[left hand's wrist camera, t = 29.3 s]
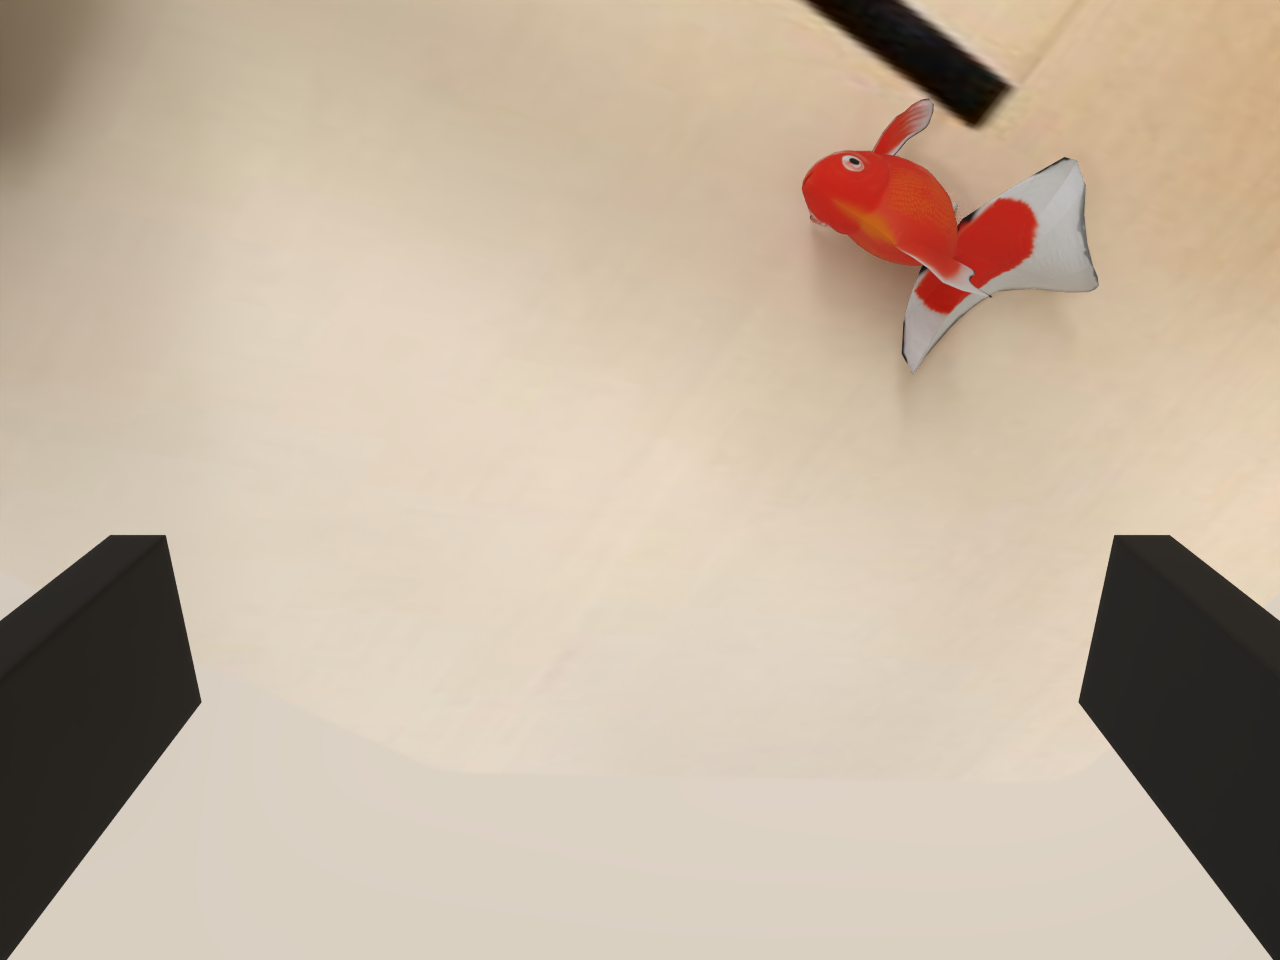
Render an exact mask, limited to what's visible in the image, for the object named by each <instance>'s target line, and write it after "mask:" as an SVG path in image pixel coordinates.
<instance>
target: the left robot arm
mask: <svg viewBox="0 0 1280 960" xmlns="http://www.w3.org/2000/svg"><path fill="white" fill-rule="evenodd" d="M200 704H201V698H200V693H199V688H198V684H197V679H196V674H195V670H194V665H193V660H192V656H191V651H190V646H189V642H188V637H187V632H186V628H185V623H184V618H183V614H182V609H181V604H180V600H179V595H178V590H177V586H176V581H175V576H174V572H173V567H172V562H171V558H170V553H169V548H168V544H167V539H166V535H110V536H109V537H107V538H106V539H105V540H103V541H102V542H101V543H100V544H98V545H97V546H96V547H95V548H93V549H92V550H91V551H89V552H88V553H87V554H86V555H84V556H83V557H82V558H80V559H79V560H78V561H77V562H75V563H74V564H73V565H71V566H70V567H69V568H68V569H66V570H65V571H64V572H62V573H61V574H60V575H59V576H57V577H56V578H55V579H53V580H52V581H51V582H50V583H48V584H47V585H46V586H44V587H43V588H42V589H41V590H39V591H38V592H37V593H36V594H34V595H33V596H32V597H30V598H29V599H28V600H27V601H25V602H24V603H23V604H21V605H20V606H19V607H18V608H16V609H15V610H14V611H12V612H11V613H10V614H9V615H7V616H6V617H5V618H3V619H2V620H1V621H0V960H7V959H8V957H9V956H10V955H11V953H12V952H13V951H14V950H15V948H16V947H17V946H18V944H19V943H20V942H21V940H22V939H23V938H24V936H25V935H26V934H27V932H28V931H29V930H30V928H31V927H32V926H33V924H34V923H35V922H36V920H37V919H38V918H39V916H40V915H41V914H42V913H43V911H44V910H45V909H46V907H47V906H48V905H49V903H50V902H51V901H52V899H53V898H54V897H55V895H56V894H57V893H58V891H59V890H60V889H61V887H62V886H63V885H64V883H65V882H66V881H67V879H68V878H69V877H70V875H71V874H72V873H73V872H74V870H75V869H76V868H77V866H78V865H79V864H80V862H81V861H82V860H83V858H84V857H85V856H86V854H87V853H88V852H89V850H90V849H91V848H92V846H93V845H94V844H95V842H96V841H97V840H98V838H99V837H100V836H101V834H102V833H103V832H104V831H105V829H106V828H107V827H108V825H109V824H110V823H111V821H112V820H113V819H114V817H115V816H116V815H117V813H118V812H119V811H120V809H121V808H122V807H123V805H124V804H125V803H126V801H127V800H128V799H129V797H130V796H131V795H132V793H133V792H134V791H135V789H136V788H137V787H138V785H139V784H140V783H141V782H142V780H143V779H144V778H145V776H146V775H147V774H148V772H149V771H150V770H151V768H152V767H153V766H154V764H155V763H156V762H157V760H158V759H159V758H160V756H161V755H162V754H163V752H164V751H165V750H166V748H167V747H168V746H169V745H170V743H171V742H172V740H173V739H174V738H175V736H176V735H177V734H178V733H179V731H180V730H181V729H182V727H183V726H184V725H185V723H186V722H187V721H188V719H189V718H190V717H191V715H192V714H193V713H194V711H195V710H196V709H197V707H198V706H199V705H200ZM1079 704H1080V705H1081V706H1082V707H1083V709H1084V710H1085V711H1086V713H1087V714H1088V715H1089V717H1090V718H1091V719H1092V721H1093V722H1094V723H1095V725H1096V726H1097V727H1098V729H1099V730H1100V731H1101V733H1102V734H1103V735H1104V737H1105V738H1106V739H1107V741H1108V742H1109V743H1110V745H1111V746H1112V747H1113V749H1114V750H1115V751H1116V752H1117V754H1118V755H1119V756H1120V758H1121V759H1122V760H1123V762H1124V763H1125V764H1126V766H1127V767H1128V768H1129V770H1130V771H1131V772H1132V774H1133V775H1134V776H1135V778H1136V779H1137V780H1138V782H1139V783H1140V784H1141V786H1142V787H1143V788H1144V790H1145V791H1146V792H1147V793H1148V795H1149V796H1150V797H1151V799H1152V800H1153V801H1154V803H1155V804H1156V805H1157V807H1158V808H1159V809H1160V811H1161V812H1162V813H1163V815H1164V816H1165V817H1166V819H1167V820H1168V821H1169V823H1170V824H1171V825H1172V827H1173V828H1174V829H1175V830H1176V832H1177V833H1178V834H1179V836H1180V837H1181V838H1182V840H1183V841H1184V842H1185V844H1186V845H1187V846H1188V848H1189V849H1190V850H1191V852H1192V853H1193V854H1194V856H1195V857H1196V858H1197V860H1198V861H1199V862H1200V864H1201V865H1202V866H1203V868H1204V869H1205V870H1206V871H1207V873H1208V874H1209V875H1210V877H1211V878H1212V879H1213V881H1214V882H1215V883H1216V885H1217V886H1218V887H1219V889H1220V890H1221V891H1222V893H1223V894H1224V895H1225V897H1226V898H1227V899H1228V901H1229V902H1230V903H1231V905H1232V906H1233V907H1234V909H1235V910H1236V911H1237V913H1238V914H1239V915H1240V916H1241V918H1242V919H1243V920H1244V922H1245V923H1246V924H1247V926H1248V927H1249V928H1250V930H1251V931H1252V932H1253V934H1254V935H1255V936H1256V938H1257V939H1258V940H1259V942H1260V943H1261V944H1262V946H1263V947H1264V948H1265V950H1266V951H1267V952H1268V953H1269V955H1270V956H1271V957H1272V959H1273V960H1280V621H1279V620H1278V619H1276V618H1275V617H1274V616H1273V615H1271V614H1270V613H1269V612H1267V611H1266V610H1265V609H1264V608H1262V607H1261V606H1260V605H1259V604H1257V603H1256V602H1255V601H1253V600H1252V599H1251V598H1250V597H1248V596H1247V595H1246V594H1244V593H1243V592H1242V591H1241V590H1239V589H1238V588H1237V587H1236V586H1234V585H1233V584H1232V583H1230V582H1229V581H1228V580H1227V579H1225V578H1224V577H1223V576H1221V575H1220V574H1219V573H1218V572H1216V571H1215V570H1214V569H1212V568H1211V567H1210V566H1209V565H1207V564H1206V563H1205V562H1203V561H1202V560H1201V559H1200V558H1198V557H1197V556H1196V555H1194V554H1193V553H1192V552H1191V551H1189V550H1188V549H1187V548H1185V547H1184V546H1183V545H1182V544H1180V543H1179V542H1178V541H1177V540H1175V539H1174V538H1173V537H1171V536H1170V535H1114V539H1113V544H1112V548H1111V553H1110V558H1109V562H1108V567H1107V572H1106V576H1105V581H1104V586H1103V590H1102V595H1101V600H1100V604H1099V609H1098V614H1097V618H1096V623H1095V628H1094V632H1093V637H1092V642H1091V646H1090V651H1089V656H1088V660H1087V665H1086V670H1085V674H1084V679H1083V684H1082V688H1081V693H1080V698H1079Z"/></svg>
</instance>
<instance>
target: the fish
mask: <svg viewBox="0 0 1280 960" xmlns="http://www.w3.org/2000/svg"><path fill="white" fill-rule="evenodd" d="M933 107H934V104H933V103H932V102H931V100H930V99H923V100H920V101H918V102H916V103H915V104H913V105H911V106H910V107H909V108H908V109H907V110H906V111H905V112H903V113H902V114H900V115H898V116H897V117H895V119H894V120H893V121H892V122H891V123H890V124H889V126H888V127H887V128H886V129H885V130H884V132H883V133H882V135H881V137H880V138H879V140H878V142H877V144H876V145H875V147H874V149H873V151H872V152H871V151H840V152H835V153H833V154H831V155H829V156H826V157H824V158H822V159H820V160H819V161H818V162H817V163H816V164H815V165H814V166H813V167H812V168H811V169H810V170H809V171H808V172H807V174H806V176H805V178H804V180H803V185H802V191H803V195H804V197H805V201H806V203H807V206H808V209H809V212H810V214H811V216H810V219H811V221H812V222H814V223H817V224H820V225H822V226H828V227H832V228H833V229H834V230H835V231H837V232H839V233H841V234H847V235H848V236H850V237H851V238H852V239H853V240H854V241H855V242H856V243H857V244H858V245H859V246H860V247H862V248H863V249H865V250H866V251H868V252H870V253H871V254H873V255H875V256H877V257H879V258H882V259H884V260H887V261H890V262H894V263H899V264H904V265H911V266H912V265H922V268H921V270H920V272H919V275H918V277H917V280H916V282H915V285H914V287H913V290H912V292H911V295H910V299H909V302H908V305H907V309H906V314H905V318H904V324H903V342H902V355H903V357H904V359H905V360H906V362H907V364H908V366H909V368H910V370H911V371H912V373H913V375H914V373H915V372H916V370H917V369H918V367H919V365H920V364H921V362H922V361H923V359H924V358H925V356H926V355H927V354H928V353H929V352H930V351H931V349H932V348H933V347H934V346H935V345H936V344H937V342H938V341H939V340H940V339H941V338H942V337H943V335H944V334H945V333H946V332H947V331H948V330H949V328H950V327H951V326H952V325H953V324H955V323H956V322H957V321H958V320H959V319H960V318H961V317H962V316H963V315H964V314H965V313H966V312H967V311H968V310H969V309H971V308H972V307H973V306H975V305H976V304H978V303H979V302H981V301H982V300H983V299H985V298H986V297H992V296H991V294H993V293H995V292H996V291H1005V290H1015V289H1031V288H1035V289H1043V290H1050V291H1060V292H1090V291H1092V290H1095V289H1096V288H1097V287H1098V286H1099V284H1098V277H1097V274H1096V272H1095V270H1094V267H1093V264H1092V260H1091V256H1090V252H1089V249H1088V245H1087V237H1086V228H1085V219H1084V207H1085V187H1086V185H1085V182H1084V180H1083V177H1082V174H1081V171H1080V168H1079V165H1078V162H1077V160H1073V159H1069V158H1065V157H1064V158H1062V159H1060V160H1059V161H1057V162H1055V163H1053V164H1052V165H1050V166H1048V167H1046V168H1045V169H1043V170H1041V171H1040V172H1038V173H1036V174H1034V175H1032V176H1031V177H1029V178H1027V179H1025V180H1023V181H1022V182H1020V183H1018V184H1016V185H1015V186H1013V187H1011V188H1010V189H1008V190H1007V191H1005V192H1003V193H1002V194H1000V195H999V196H997V197H996V198H994V199H992V200H991V201H989V202H988V203H986V204H985V205H983V206H982V207H980V208H979V209H977V210H976V211H974V212H973V213H971V214H970V215H968V216H966V217H965V218H963V219H962V221H961V222H960V223H959V224H958V226H957V222H956V218H955V214H954V212H955V210H956V208H957V207H958V205H957V204H956V203H953V204H952V202H951V200H950V198H949V196H948V194H947V192H946V191H945V190H944V188H943V187H942V186H941V185H940V183H939V182H938V181H937V180H936V178H935V177H934V176H933V175H932V174H931V173H930V172H929V171H928V170H926V169H925V168H923V167H922V166H920V165H918V164H915V163H913V162H911V161H908V160H906V159H903V158H901V157H898V156H894V155H895V154H896V153H897V152H898V151H899V150H900V148H901V147H902V146H903V145H904V144H905V142H906V141H907V140H909V139H910V138H911V137H913V136H914V135H916V134H918V133H919V132H921V131H922V130H924V129H925V128H926V127H927V126H928V124H929V122H930V119H931V116H932V114H933ZM812 217H813V219H812Z"/></svg>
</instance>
